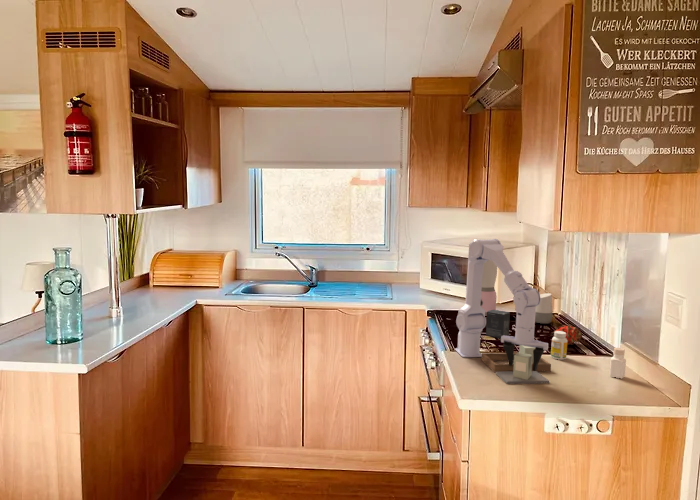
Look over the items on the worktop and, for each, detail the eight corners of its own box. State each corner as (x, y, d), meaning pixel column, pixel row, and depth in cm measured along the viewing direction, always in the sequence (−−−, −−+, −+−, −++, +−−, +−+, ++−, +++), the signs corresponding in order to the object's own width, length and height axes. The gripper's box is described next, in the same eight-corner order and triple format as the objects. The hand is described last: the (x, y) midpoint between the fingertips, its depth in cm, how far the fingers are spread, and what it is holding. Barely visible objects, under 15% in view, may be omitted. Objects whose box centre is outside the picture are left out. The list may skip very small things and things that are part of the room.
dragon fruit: (584, 349, 207) (552, 351, 210) (579, 333, 213) (549, 334, 216) (585, 336, 201) (552, 338, 204) (580, 319, 208) (549, 321, 210)
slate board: (495, 373, 172) (496, 371, 172) (536, 373, 173) (536, 371, 173) (506, 383, 163) (506, 381, 163) (549, 383, 164) (549, 380, 164)
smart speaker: (530, 319, 249) (532, 290, 247) (550, 321, 246) (552, 292, 245) (531, 324, 240) (533, 294, 238) (552, 326, 237) (554, 296, 236)
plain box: (518, 363, 183) (519, 344, 182) (530, 363, 184) (531, 344, 183) (523, 367, 179) (525, 348, 178) (536, 367, 179) (537, 348, 178)
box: (508, 336, 218) (510, 312, 216) (502, 339, 213) (504, 314, 212) (491, 333, 223) (493, 308, 222) (485, 335, 219) (486, 310, 218)
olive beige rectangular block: (512, 376, 167) (514, 355, 167) (517, 372, 171) (518, 352, 170) (526, 379, 165) (528, 358, 164) (531, 375, 169) (532, 354, 168)
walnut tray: (481, 360, 186) (481, 353, 186) (533, 359, 188) (534, 352, 188) (494, 372, 174) (494, 364, 173) (550, 371, 176) (551, 364, 175)
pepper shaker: (611, 373, 175) (614, 346, 174) (625, 376, 172) (627, 348, 171) (609, 376, 172) (611, 348, 171) (622, 379, 169) (624, 351, 168)
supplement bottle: (553, 359, 188) (555, 334, 187) (548, 355, 193) (550, 330, 192) (568, 360, 188) (570, 334, 187) (562, 355, 193) (564, 330, 192)
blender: (475, 310, 266) (479, 248, 263) (499, 313, 259) (502, 250, 256) (463, 315, 253) (467, 250, 250) (488, 319, 247) (491, 252, 243)
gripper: (551, 327, 165) (549, 368, 167) (506, 320, 174) (504, 359, 175) (546, 332, 160) (543, 374, 161) (499, 324, 168) (497, 365, 169)
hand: (522, 367), depth 168 cm, fingers open, 7 cm apart
